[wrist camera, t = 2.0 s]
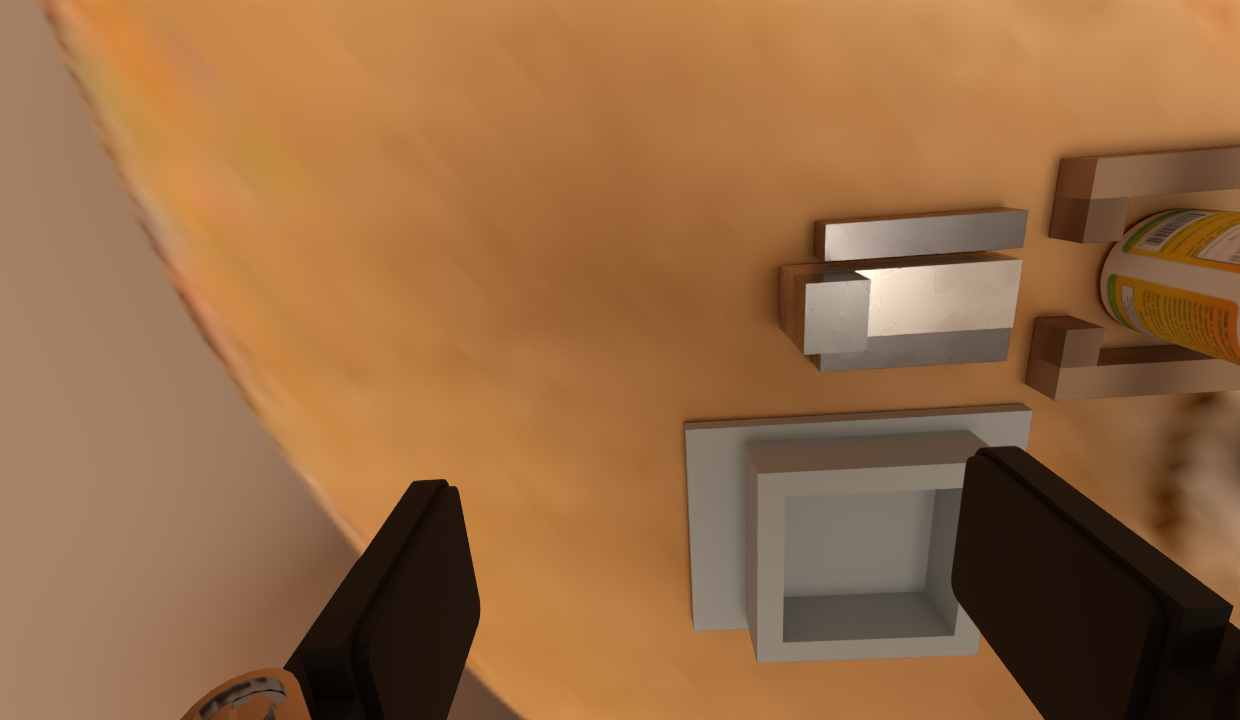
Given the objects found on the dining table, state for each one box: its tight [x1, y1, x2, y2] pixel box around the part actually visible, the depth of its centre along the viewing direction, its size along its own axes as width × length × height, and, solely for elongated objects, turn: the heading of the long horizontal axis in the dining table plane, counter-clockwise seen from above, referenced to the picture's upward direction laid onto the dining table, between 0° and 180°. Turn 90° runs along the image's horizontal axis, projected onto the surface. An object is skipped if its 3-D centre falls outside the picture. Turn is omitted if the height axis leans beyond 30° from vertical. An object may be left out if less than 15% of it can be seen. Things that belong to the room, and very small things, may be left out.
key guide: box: [811, 207, 1028, 372], centre depth 25 cm, size 8×6×2 cm
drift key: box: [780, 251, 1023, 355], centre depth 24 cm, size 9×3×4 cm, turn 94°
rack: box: [684, 404, 1033, 663], centre depth 28 cm, size 16×12×4 cm
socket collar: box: [1025, 146, 1240, 401], centre depth 24 cm, size 10×10×2 cm
